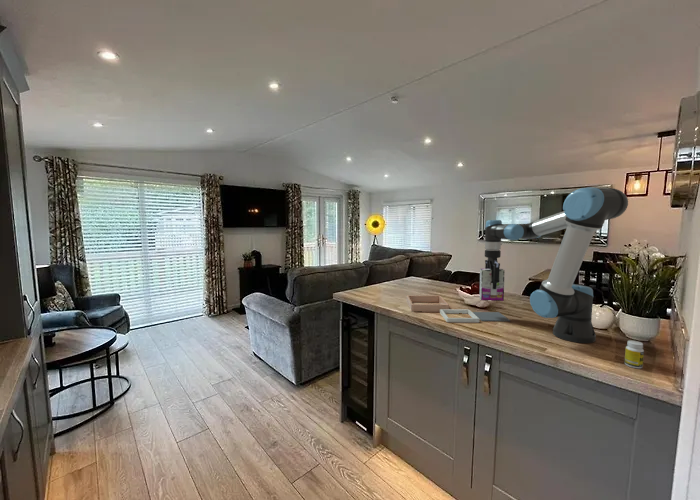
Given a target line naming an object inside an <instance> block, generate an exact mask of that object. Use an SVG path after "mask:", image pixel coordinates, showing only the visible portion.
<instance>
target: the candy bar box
mask: <svg viewBox="0 0 700 500" xmlns="http://www.w3.org/2000/svg"><path fill="white" fill-rule="evenodd" d="M491 282H492V277H491V270H490V269H485V268H479V300H480V301H491V302H504V301H505V300H504V299H505V269H504V268H499V282H498V283H497V295H491Z"/></svg>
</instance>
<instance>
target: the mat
mask: <svg viewBox="0 0 700 500" xmlns="http://www.w3.org/2000/svg"><path fill="white" fill-rule="evenodd" d="M472 312H473V313H474V314H475V315H476V316H477V317H478V318H479V321H481V322H511V319H509V318H508V317H507V316H505V315H504V314H502V313H501V312H499V311H472Z"/></svg>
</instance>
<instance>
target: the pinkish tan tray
mask: <svg viewBox="0 0 700 500" xmlns="http://www.w3.org/2000/svg"><path fill="white" fill-rule="evenodd" d="M406 303H407V305H408V307H410V308H409V309H411V310H410V312H411V311H422V312H423V313H427V312H428V313H433V312H434V313H436V312H437V313H440V309H450V304H449V303H448V302H447V301H446V300H445V299H444V298H443V297H442V296H441V295H437V294H435V295H432V294H431V295H418V294H415V295H413V294H412V295H409V294H408V295H406ZM414 303H415V304H414ZM419 303H420V304H419ZM421 303H422V304H421ZM423 303H429V304H423ZM431 303H433V304H431ZM434 303H436V304H434ZM437 303H439V304H437ZM422 312H421V313H422Z"/></svg>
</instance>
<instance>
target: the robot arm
mask: <svg viewBox="0 0 700 500" xmlns="http://www.w3.org/2000/svg"><path fill="white" fill-rule="evenodd" d="M628 206H629V199H628V197H627V195H626V194H625V193H624V192H623V191H622V190H620V189H618V188H613V187H593V186H592V187H591V186H588V187H581V188H578V189H577V188H576V189H575V190H573V191H572V192H570V193H569V194H568V195H567V196H566V198H565V199H564V202H563V205H562V210H563V211H560V212H557V213H554V214H552V215H549V216H545V217H543V218H540V219H537V220H535V221H532V222H528V223H503V222H502V219H501V220H500V219H489V220H486V222H485V227H484V231H485V232H484V233H485V234H484V235H485V236H484V238H485V239H484V257H485V258H487V259H485V260H484V263H485V264H484V269H490V270H491V277H492V282H491V295H497V283H498V282H499V269H501V268H500V267H501V263H500V262H498V259H499V258H501V254H502V253H501V248H502V247H501V246H502V240H507V241H508V240H509V241H516V240H517V241H519V240H526V239H527V240H528V239H529V240H534V239H538V238H540V237H542V236H544V235H548V234H551V233H555V232H558V231H561V230H565V232H564V235H563V237H562V240H561V243H560V245H559V248H558V251H557V253H556V256H555V258H554V261H553V264H552V267H551V270H550V273H549V275H548V276H547V277H548V278H547V279H544V280H542V282H541V284H540V286H539V289H536V290H534V291H533V292H532V293H530V296H529V304H530V306H531V308H532V310H533V311H534V313H536V314H537V316H540V317H541V318H544V319H545V318H546V319H549V318H550V319H553V318H554V319H555V318H556V321H555V324H554V326H553V328H552V334H553V336H555V337H556V338H559V339H561V340H563V341H564V340H565V341H568V342H574V343H578V344H579V343H580V344H590V343H595V342H596V339H597V335H596V331H595V329H594V328H595V327H594V325H593V323H592V319H593V318H592V317H593V316H592V315H593V304H594V301H593V300H594V290H593V288H592V287H590V286H586V285H582V284H575V280H576V278H577V276H578V273H579V271H580V268H581V266H582V263H583V261H584V258H585V256H586V254H587V252H588V249H589V246H590V244H591V242H592V239H593V236H594V234H595V232H596V231H598V230H601V229H603V226H604V224H605V221H607V220H613V219H616V218H619V217H620V216H622V215H623V214H624V213H625V212H626V211H627V208H628Z"/></svg>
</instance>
